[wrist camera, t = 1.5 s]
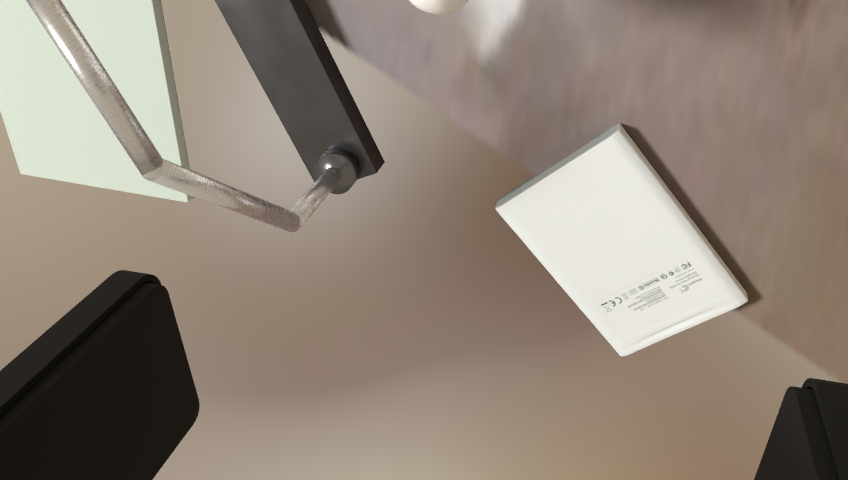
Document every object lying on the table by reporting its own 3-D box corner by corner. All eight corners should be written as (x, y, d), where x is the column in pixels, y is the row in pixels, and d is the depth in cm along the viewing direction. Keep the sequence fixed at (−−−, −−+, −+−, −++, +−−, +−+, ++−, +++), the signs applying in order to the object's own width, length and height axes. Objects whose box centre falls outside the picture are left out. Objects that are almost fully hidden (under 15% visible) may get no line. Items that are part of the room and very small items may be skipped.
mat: (-44, -63, 39) (-55, -61, 39) (152, -45, 37) (144, -43, 36) (29, 168, 47) (20, 173, 47) (194, 196, 45) (187, 202, 44)
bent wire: (117, -212, 33) (-180, -233, 21) (176, -258, 31) (-111, -309, 19) (330, 183, 41) (207, 329, 29) (386, 164, 40) (278, 311, 28)
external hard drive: (620, 118, 35) (746, 287, 38) (498, 197, 39) (620, 343, 42) (619, 130, 34) (750, 304, 37) (493, 210, 38) (619, 360, 41)
